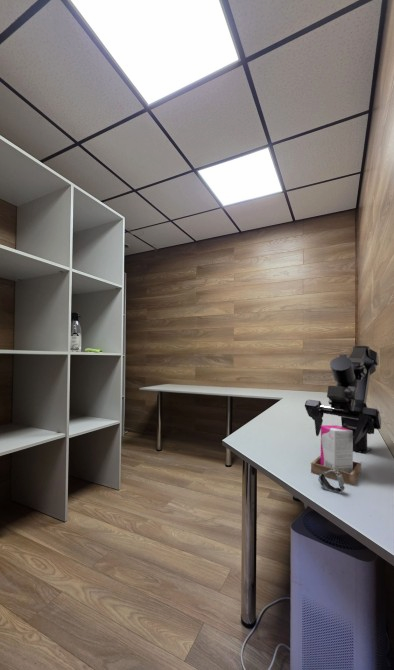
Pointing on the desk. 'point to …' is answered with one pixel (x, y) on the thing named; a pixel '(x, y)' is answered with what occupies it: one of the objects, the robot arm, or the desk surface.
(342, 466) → the supplement box
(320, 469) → the square wooden tray
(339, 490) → the wristwatch
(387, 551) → the desk surface
